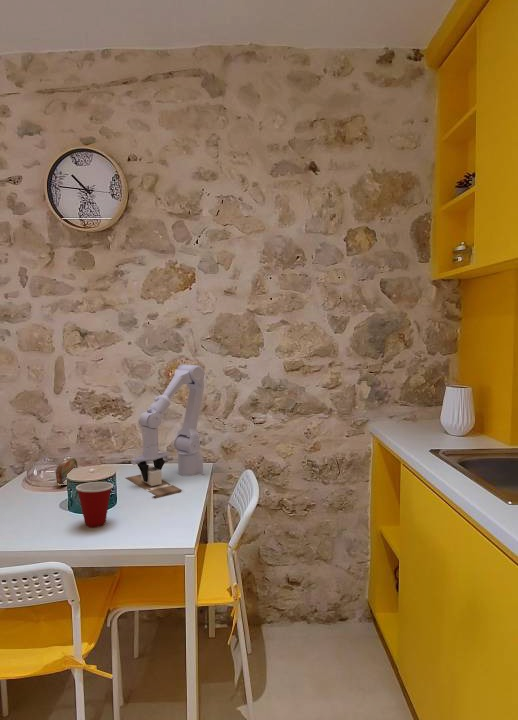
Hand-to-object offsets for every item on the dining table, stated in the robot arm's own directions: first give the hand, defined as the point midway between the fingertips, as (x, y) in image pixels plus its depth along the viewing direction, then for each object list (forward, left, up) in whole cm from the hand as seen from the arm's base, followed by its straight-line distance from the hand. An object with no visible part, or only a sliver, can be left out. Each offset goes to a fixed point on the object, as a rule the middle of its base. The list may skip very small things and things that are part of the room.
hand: (151, 480), depth 186 cm
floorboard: (0, 0, -2) cm, 2 cm away
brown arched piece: (+23, -25, -2) cm, 34 cm away
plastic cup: (+29, +21, -2) cm, 36 cm away
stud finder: (0, 0, -1) cm, 1 cm away
